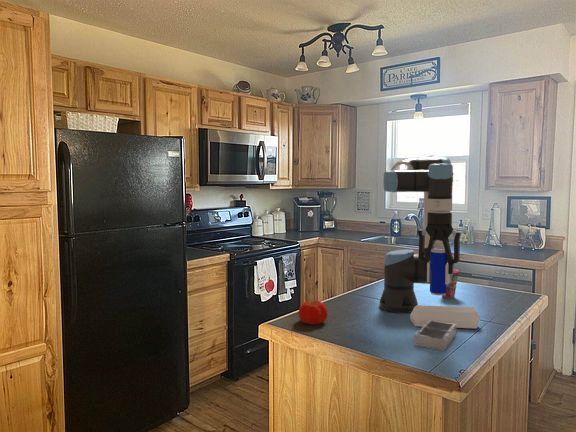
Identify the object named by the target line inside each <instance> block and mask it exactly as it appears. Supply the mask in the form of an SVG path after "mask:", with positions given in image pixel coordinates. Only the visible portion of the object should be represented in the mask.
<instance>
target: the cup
mask: <svg viewBox="0 0 576 432" xmlns="http://www.w3.org/2000/svg"><path fill="white" fill-rule="evenodd" d="M459 273H460V270H459V269H458V268H453V274H452V279H451V282H450V283H449V284H448V285H446V294H445V295H441V297H442V298H444V299H455V296H456V291H457V290H456V289H457V284H458V277H459Z"/></svg>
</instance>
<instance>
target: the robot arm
mask: <svg viewBox="0 0 576 432" xmlns="http://www.w3.org/2000/svg"><path fill="white" fill-rule="evenodd" d="M453 170H454V166H453V164H452V162H451V160H450V158H448V157H440V156H435V157H410V158H405V159H403V160H400V161H397V162H396V163H395V164H394V165H393V166H392V167H391V170H385V171H384V172H383V190H384V192H386V193H387V192H389V193H412V192H413V193H423V228H422V229H419V230H417V235H418V253H415V250H413V249H395V250H392V251H388V252H386V253H385V254H384V260H383V262H384V263H383V266H384V269H383V270H384V272H383V273H384V275H383V276H384V277H383V291H382V294H381V296H380V299H379V308H380V309H381V310H383V311H387V312H390V313H391V312H392V313H398V314H400V313H401V314H403V313H405V314H406V313H412V311H413V309H414V307H415V306H416V305H419V302H418V299H417V296H416V293H415V289H414V284H423V285H430V253H431V248H434V247H441V248H444V249H445V253H446V257H447V264H446V272H445V284H447V285H448V284H449V283H450V282H451V279H452V274H453V269H454V265H455V264H458V263H459V262H460V260H461V259H460V257H461V256H460V255H461V254H460V249H461V246H460V244H461V243H460V241H461V240H460V239H461V237H462V233H463V232H461V231H457V230H454V228H453V214H452V211H453V185H454V184H453V183H454V171H453ZM451 235H452V237H453V253H452V249H451V245H450V239H449V238H450V237H451Z"/></svg>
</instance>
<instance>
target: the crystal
mask: <svg viewBox="0 0 576 432" xmlns="http://www.w3.org/2000/svg"><path fill="white" fill-rule="evenodd" d="M409 319H410V321H411V322H412V324H413V325H414V326H415V327H421V328H422V327H423V326H424V325H425V324H426V322H427V321H428V320H433V321H440V322H446V323H452V324H456V329H477V328H478V327H479V324H480V320H481V318H480V315H479V314H478V312H477V310H476V309H475V307H474V306H452V305H451V306H450V305H448V306H447V305H446V306H445V305H419V304H418V305H416V306H415V307H414V309H413V311H412V312H410V315H409Z"/></svg>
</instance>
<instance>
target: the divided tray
mask: <svg viewBox="0 0 576 432" xmlns="http://www.w3.org/2000/svg"><path fill="white" fill-rule="evenodd" d="M456 335H457V328H456V324H452V323H446V322H440V321H433V320H428V321H427V322H426V324H425V325H424V326H423V327H422V326H421V327H420V328H419V330H417V332H415V333H414V346H416V347H422V348H427V349H431V350H437V351H440V352H441V351H442V352H445V351H446V349H448V347H449V345H450V344H451V343H452V340H454V338H455V337H456Z"/></svg>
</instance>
